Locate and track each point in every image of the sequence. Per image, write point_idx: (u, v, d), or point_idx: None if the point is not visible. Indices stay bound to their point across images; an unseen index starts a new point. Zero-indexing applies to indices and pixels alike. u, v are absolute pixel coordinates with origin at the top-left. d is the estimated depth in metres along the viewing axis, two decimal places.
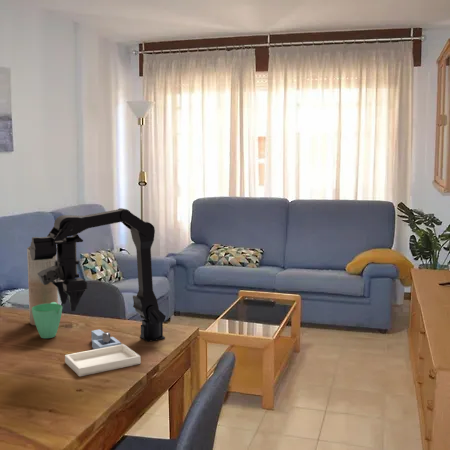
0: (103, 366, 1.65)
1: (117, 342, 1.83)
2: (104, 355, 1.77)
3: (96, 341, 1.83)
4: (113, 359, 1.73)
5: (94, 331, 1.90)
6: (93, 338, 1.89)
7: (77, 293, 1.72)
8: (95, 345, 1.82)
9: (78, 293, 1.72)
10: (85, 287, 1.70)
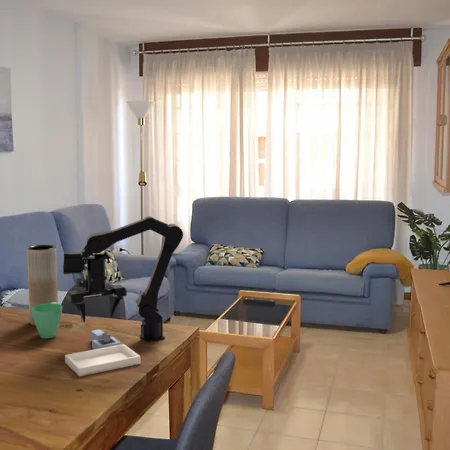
0: (103, 366, 1.65)
1: (117, 342, 1.83)
2: (104, 355, 1.77)
3: (96, 341, 1.83)
4: (113, 359, 1.73)
5: (94, 331, 1.90)
6: (93, 338, 1.89)
7: None
8: (95, 345, 1.82)
9: None
10: (71, 301, 1.81)
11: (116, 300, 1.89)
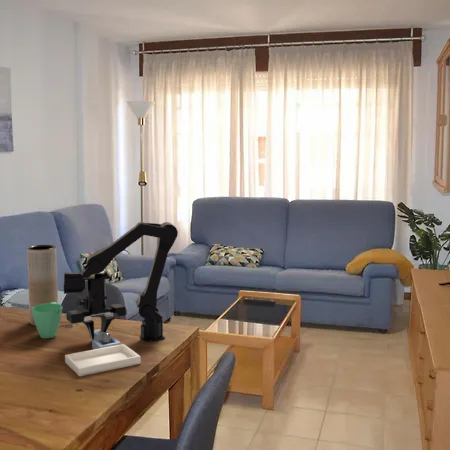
0: (103, 366, 1.65)
1: (117, 342, 1.83)
2: (104, 355, 1.77)
3: (96, 341, 1.83)
4: (113, 359, 1.73)
5: (94, 331, 1.90)
6: None
7: None
8: (95, 345, 1.82)
9: None
10: (71, 321, 1.82)
11: (108, 321, 1.89)
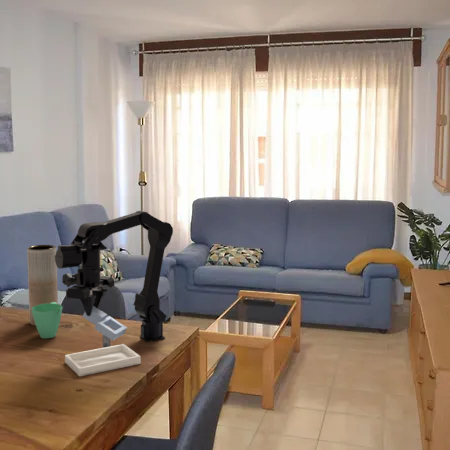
0: (103, 366, 1.65)
1: (123, 326, 1.79)
2: (104, 355, 1.77)
3: (103, 324, 1.75)
4: (113, 359, 1.73)
5: None
6: None
7: (88, 299, 1.75)
8: (104, 329, 1.74)
9: (88, 299, 1.75)
10: (80, 297, 1.69)
11: (103, 293, 1.80)
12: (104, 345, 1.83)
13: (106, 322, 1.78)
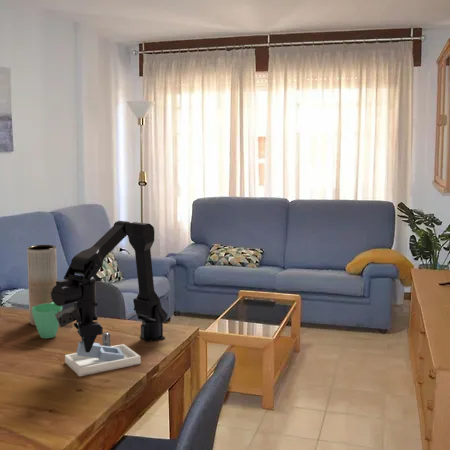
0: (103, 366, 1.65)
1: (116, 348, 1.76)
2: None
3: (107, 352, 1.69)
4: None
5: None
6: (85, 351, 1.68)
7: None
8: (110, 356, 1.69)
9: None
10: (100, 332, 1.61)
11: None
12: (104, 345, 1.83)
13: None
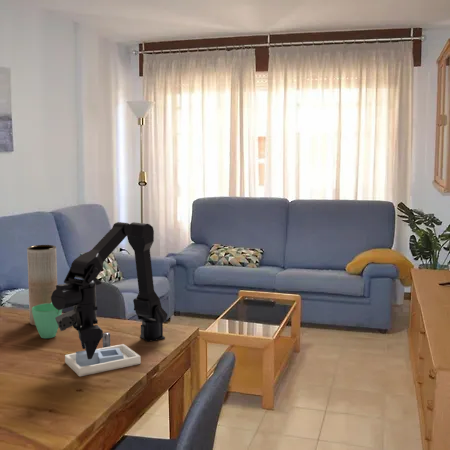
0: (103, 366, 1.65)
1: (115, 348, 1.76)
2: None
3: (105, 356, 1.69)
4: None
5: (81, 353, 1.68)
6: (84, 361, 1.68)
7: (93, 341, 1.64)
8: (110, 359, 1.69)
9: (94, 341, 1.63)
10: (100, 336, 1.61)
11: None
12: (104, 345, 1.83)
13: None
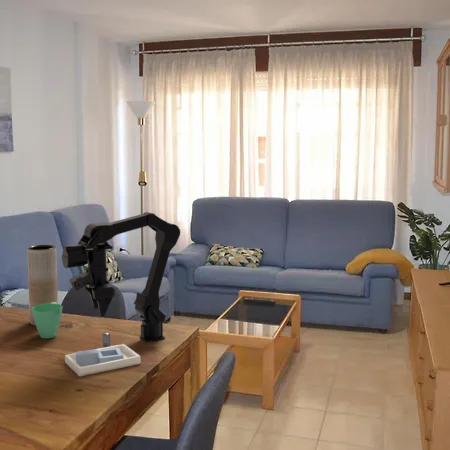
0: (103, 366, 1.65)
1: (115, 348, 1.76)
2: None
3: (105, 356, 1.69)
4: None
5: (81, 353, 1.68)
6: (84, 361, 1.68)
7: (106, 299, 1.77)
8: (110, 359, 1.69)
9: (107, 299, 1.77)
10: (113, 294, 1.74)
11: None
12: (104, 345, 1.83)
13: None
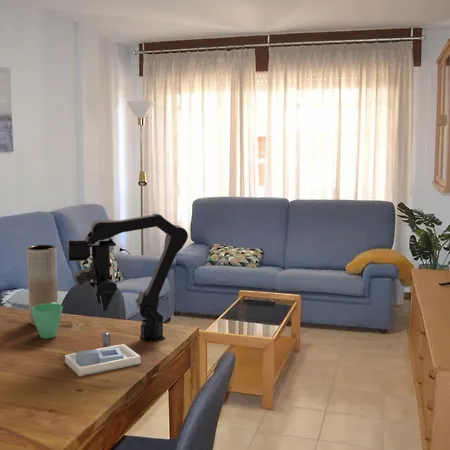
0: (103, 366, 1.65)
1: (115, 348, 1.76)
2: None
3: (105, 356, 1.69)
4: None
5: (81, 353, 1.68)
6: (84, 361, 1.68)
7: (108, 294, 1.82)
8: (110, 359, 1.69)
9: (109, 294, 1.82)
10: (115, 289, 1.79)
11: None
12: (104, 345, 1.83)
13: None
